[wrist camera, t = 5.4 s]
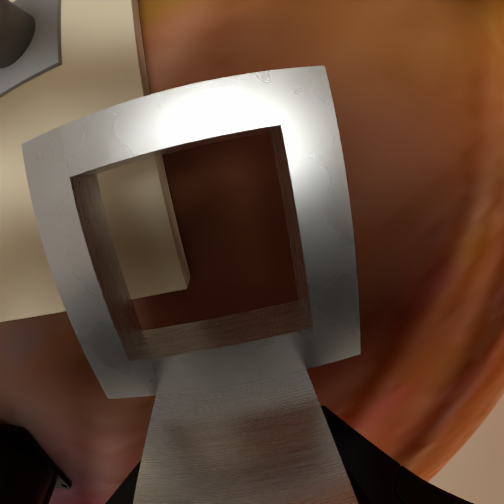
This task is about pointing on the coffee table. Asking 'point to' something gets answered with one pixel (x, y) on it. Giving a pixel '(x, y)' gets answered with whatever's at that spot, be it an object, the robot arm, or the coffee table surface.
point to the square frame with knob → (221, 328)
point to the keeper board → (62, 112)
